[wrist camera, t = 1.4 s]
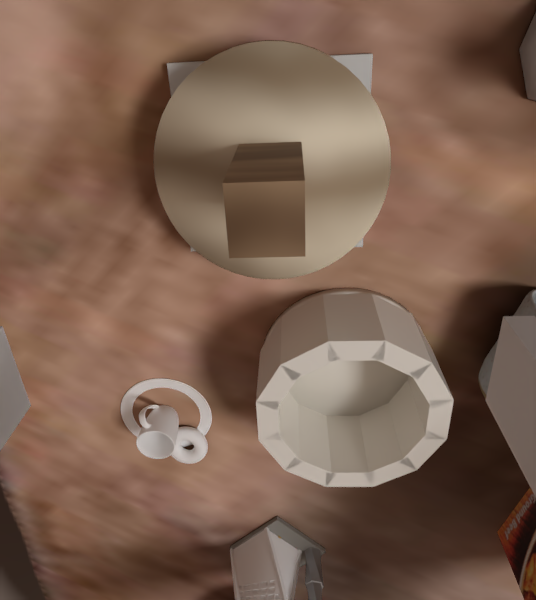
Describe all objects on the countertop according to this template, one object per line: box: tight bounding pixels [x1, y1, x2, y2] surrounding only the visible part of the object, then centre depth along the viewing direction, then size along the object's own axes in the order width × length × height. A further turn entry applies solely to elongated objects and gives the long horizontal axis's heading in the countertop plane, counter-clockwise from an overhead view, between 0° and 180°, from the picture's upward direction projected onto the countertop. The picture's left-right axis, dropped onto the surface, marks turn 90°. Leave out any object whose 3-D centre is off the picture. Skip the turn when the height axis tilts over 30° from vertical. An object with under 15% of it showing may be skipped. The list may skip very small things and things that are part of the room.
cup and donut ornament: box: [121, 378, 212, 464], centre depth 42 cm, size 9×8×4 cm
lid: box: [154, 40, 391, 279], centre depth 27 cm, size 14×14×11 cm
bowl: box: [256, 288, 454, 487], centre depth 37 cm, size 13×13×7 cm
